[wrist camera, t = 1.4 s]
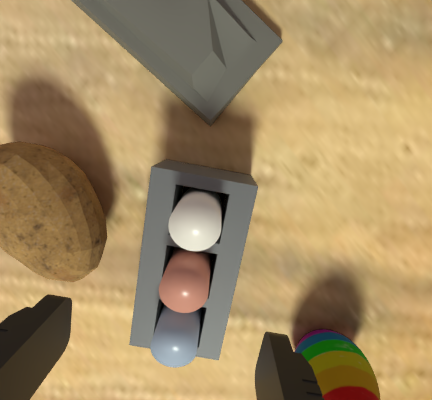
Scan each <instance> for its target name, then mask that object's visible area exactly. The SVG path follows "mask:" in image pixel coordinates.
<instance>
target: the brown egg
mask: <svg viewBox="0 0 432 400" xmlns="http://www.w3.org/2000/svg"><path fill="white" fill-rule="evenodd" d="M210 269H211V253H208V252H202V251H189V250H186V249H183V248H180V247H175V249H174V251H173V253H172V256H171V258H170V260H169V263H168V265H167V268H166V270H165V272H164V275H163V277H162V280H161V282H160V285H159V295H160V298H161V300H162V302H163V303H164V304H165V305H166V306H167V307H168V308H170V309H171V310H173V311H176V312H180V313H190V312H193V311H196V310H198V309H199V308H201V307H202V306H203V305H204V304H205V302H206V300H207V298H208V292H209V280H210Z"/></svg>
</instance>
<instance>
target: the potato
mask: <svg viewBox="0 0 432 400" xmlns="http://www.w3.org/2000/svg"><path fill="white" fill-rule="evenodd" d="M106 240H107V229H106V219H105V216H104V213H103V210H102V207H101V204H100V202H99V200H98V198H97V196H96V193H95V191H94V189H93V187H92V185H91V184H90V182H89V180H88V178H87V177H86V175H85V173H84V172H83V171H82V170H81V169H80V168H79V167H78V166H77V165H76V164H75V163H74V162H73V161H72V160H71V159H69V158H67V157H66V156H64V155H62V154H61V153H59V152H57V151H56V150H54V149H51V148H49V147H46V146H43V145H37V144H31V143H26V142H13V143H6V144H2V145H0V247H1V248H2V249H3V250H4V251H5V252H6V253H8V254H9V255H11V256H12V257H14V258H15V259H17V260H18V261H20V262H21V263H22V264H24V265H25V266H26V267H28V268H29V269H30V270H32V271H33V272H35V273H37V274H39V275H41V276H43V277H45V278H47V279H51V280H59V281H67V282H74V281H77V280H80V279H82V278H84V277H85V276H86V275H88V274H89V273H90V272H92V271H93V270H94V269H96V268H97V267H98V265H99V262H100V260H101V257H102V254H103V251H104V247H105V243H106Z"/></svg>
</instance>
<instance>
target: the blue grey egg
mask: <svg viewBox="0 0 432 400" xmlns="http://www.w3.org/2000/svg"><path fill="white" fill-rule="evenodd" d="M201 312H202V307H201V308H199V309H198V310H196V311H193V312H190V313H180V312H176V311H173V310H171V309H170V308H168V307H167V306H166V305H165V304H164V306H163V309H162V311H161V314H160V317H159V320H158V323H157V326H156V329H155V332H154V335H153V338H152V341H151V346H150V348H151V352H152V355H153V356H154V358H155V359H156V360H157V361H158V362H159V363H161V364H163V365H165V366H168V367H182V366H185V365H187V364H189V363H190V362H191V361H192V360H193V359H194V358H195V356H196V353H197V346H198V337H199V329H200V320H201Z"/></svg>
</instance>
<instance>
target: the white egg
mask: <svg viewBox="0 0 432 400" xmlns="http://www.w3.org/2000/svg"><path fill="white" fill-rule="evenodd" d="M221 216H222V203H221V199H220V197H219V195H218V194H217V192H215V191H210V190H204V189H199V188H193V187H191V188H190V189H188V190H187V191H186V192H185V193H184V195H183V196H182V198H181V199H180V201H179V203H178V204H177V206H176V207H175V209H174V211H173V212H172V214H171V216H170V218H169V224H168V227H169V233H170V235H171V237H172V239H173V240H174V242H175V243H176V244H177V245H178V246H180V247H181V248H183V249H186V250H189V251H202V250H205V249H208V248H210V247H211V246H212V245H214V244H215V242H216V241H217V240H218V238H219V236H220V233H221Z"/></svg>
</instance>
